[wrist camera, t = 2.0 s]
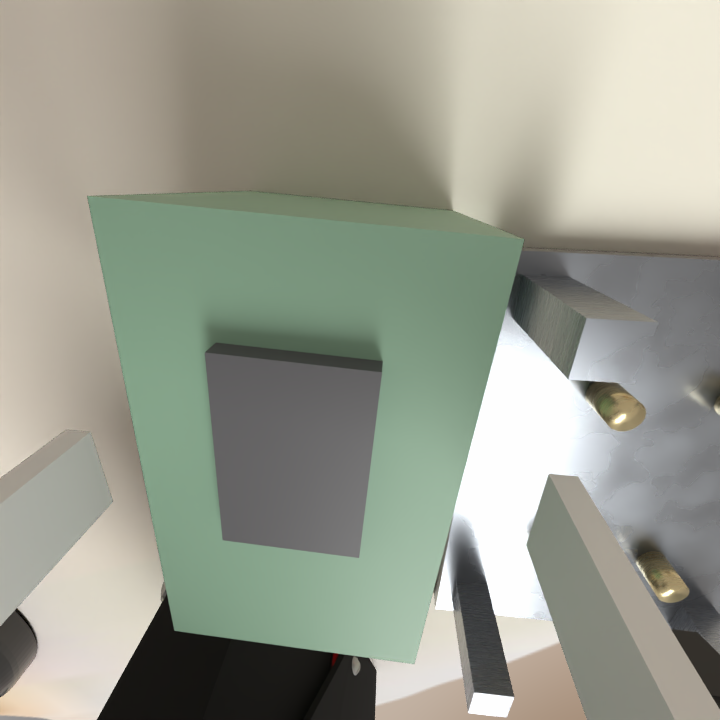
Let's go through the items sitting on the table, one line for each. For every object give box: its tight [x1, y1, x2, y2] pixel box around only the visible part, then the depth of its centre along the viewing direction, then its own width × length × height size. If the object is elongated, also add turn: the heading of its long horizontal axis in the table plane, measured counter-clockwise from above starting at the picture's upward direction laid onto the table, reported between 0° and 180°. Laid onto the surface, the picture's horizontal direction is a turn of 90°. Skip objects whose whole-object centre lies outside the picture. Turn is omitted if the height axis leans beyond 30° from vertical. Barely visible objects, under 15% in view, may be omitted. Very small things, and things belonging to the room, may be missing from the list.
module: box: [87, 191, 524, 664], centre depth 15 cm, size 9×15×11 cm, turn 175°
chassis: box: [434, 247, 720, 717], centre depth 18 cm, size 18×24×7 cm
